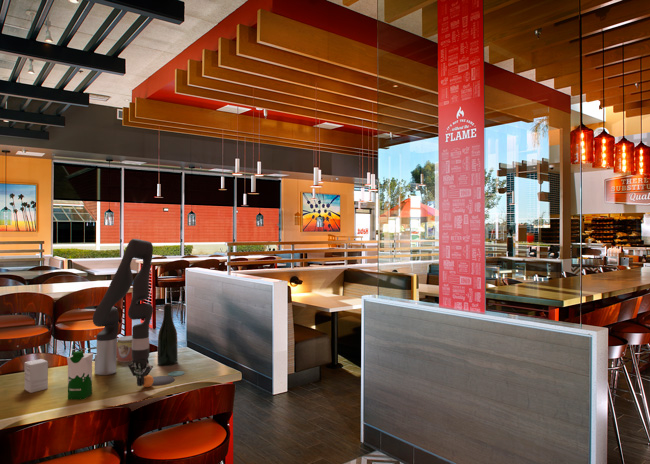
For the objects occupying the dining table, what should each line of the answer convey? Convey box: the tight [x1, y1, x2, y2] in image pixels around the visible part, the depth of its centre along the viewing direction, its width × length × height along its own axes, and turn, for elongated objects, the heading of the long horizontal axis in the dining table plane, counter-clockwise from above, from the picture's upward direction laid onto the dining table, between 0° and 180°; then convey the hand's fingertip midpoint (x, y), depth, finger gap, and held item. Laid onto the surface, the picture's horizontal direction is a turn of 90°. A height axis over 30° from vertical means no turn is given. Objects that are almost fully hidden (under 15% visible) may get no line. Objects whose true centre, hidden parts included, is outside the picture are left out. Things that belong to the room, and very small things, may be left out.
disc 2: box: [167, 370, 185, 377], centre depth 230 cm, size 8×8×1 cm
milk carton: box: [66, 350, 94, 400], centre depth 197 cm, size 9×9×20 cm
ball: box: [141, 374, 154, 388], centre depth 210 cm, size 6×6×6 cm
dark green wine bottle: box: [157, 302, 179, 366], centre depth 248 cm, size 10×10×33 cm
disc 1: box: [150, 375, 176, 387], centre depth 219 cm, size 14×14×1 cm
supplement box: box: [24, 358, 49, 394], centre depth 207 cm, size 7×7×13 cm
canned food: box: [117, 335, 133, 363], centre depth 256 cm, size 11×11×12 cm
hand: (140, 385), depth 207 cm, fingers closed
